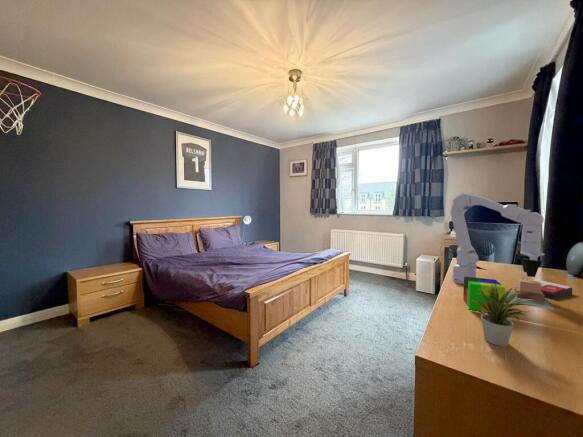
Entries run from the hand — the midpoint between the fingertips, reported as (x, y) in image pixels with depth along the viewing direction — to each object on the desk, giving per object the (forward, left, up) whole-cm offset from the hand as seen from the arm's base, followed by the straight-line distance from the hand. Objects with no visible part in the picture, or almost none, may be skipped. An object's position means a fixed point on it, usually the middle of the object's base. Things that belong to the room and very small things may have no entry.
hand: (529, 274), depth 100 cm
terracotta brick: (0, 0, -7) cm, 7 cm away
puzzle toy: (-16, -23, -10) cm, 30 cm away
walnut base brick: (0, 0, -9) cm, 9 cm away
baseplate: (-5, -4, -10) cm, 12 cm away
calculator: (+7, +11, -10) cm, 17 cm away
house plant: (-14, -51, -10) cm, 54 cm away
